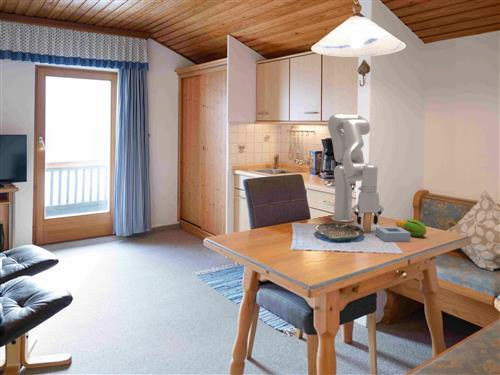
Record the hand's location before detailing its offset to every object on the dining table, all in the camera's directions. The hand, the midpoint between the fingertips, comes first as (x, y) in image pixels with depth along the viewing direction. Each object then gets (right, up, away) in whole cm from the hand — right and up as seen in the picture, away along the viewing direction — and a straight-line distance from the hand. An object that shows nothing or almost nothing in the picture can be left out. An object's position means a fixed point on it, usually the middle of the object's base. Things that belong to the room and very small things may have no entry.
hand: (367, 223), depth 215 cm
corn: (+20, -5, -3) cm, 21 cm away
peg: (0, -4, +1) cm, 4 cm away
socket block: (+9, -6, -12) cm, 16 cm away
